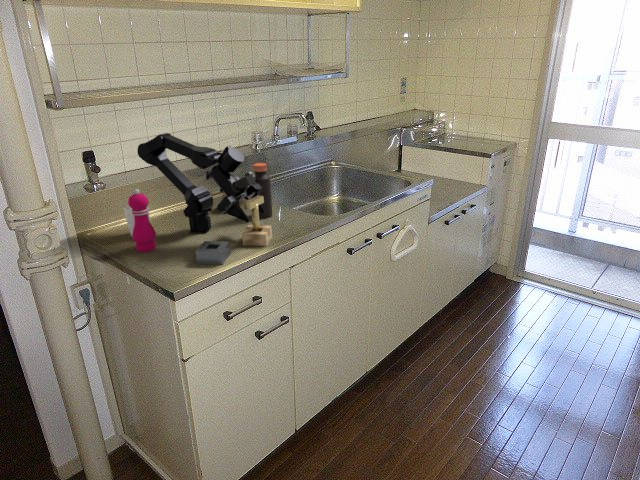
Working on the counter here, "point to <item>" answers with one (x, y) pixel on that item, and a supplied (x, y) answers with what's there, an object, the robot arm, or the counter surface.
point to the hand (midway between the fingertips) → (256, 217)
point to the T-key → (254, 211)
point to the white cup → (131, 218)
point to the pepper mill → (142, 223)
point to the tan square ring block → (257, 236)
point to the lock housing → (213, 252)
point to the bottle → (264, 188)
